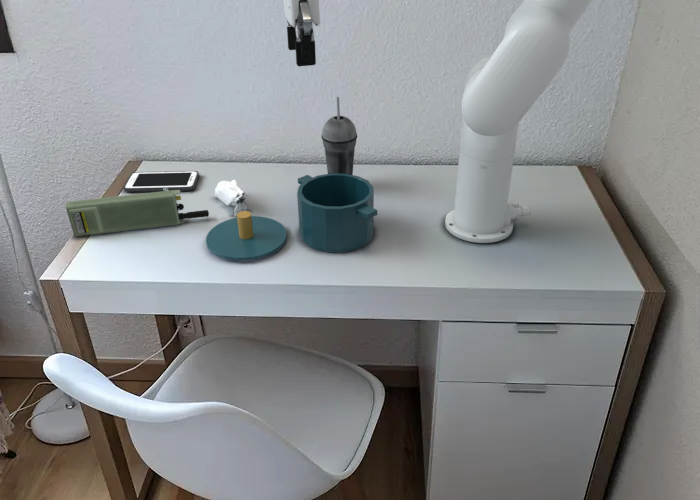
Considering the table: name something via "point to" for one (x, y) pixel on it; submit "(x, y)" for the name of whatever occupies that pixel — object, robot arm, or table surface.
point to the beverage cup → (339, 143)
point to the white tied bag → (231, 195)
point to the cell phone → (161, 181)
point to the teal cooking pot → (335, 212)
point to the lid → (246, 237)
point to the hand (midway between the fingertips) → (301, 56)
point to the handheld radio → (127, 213)
